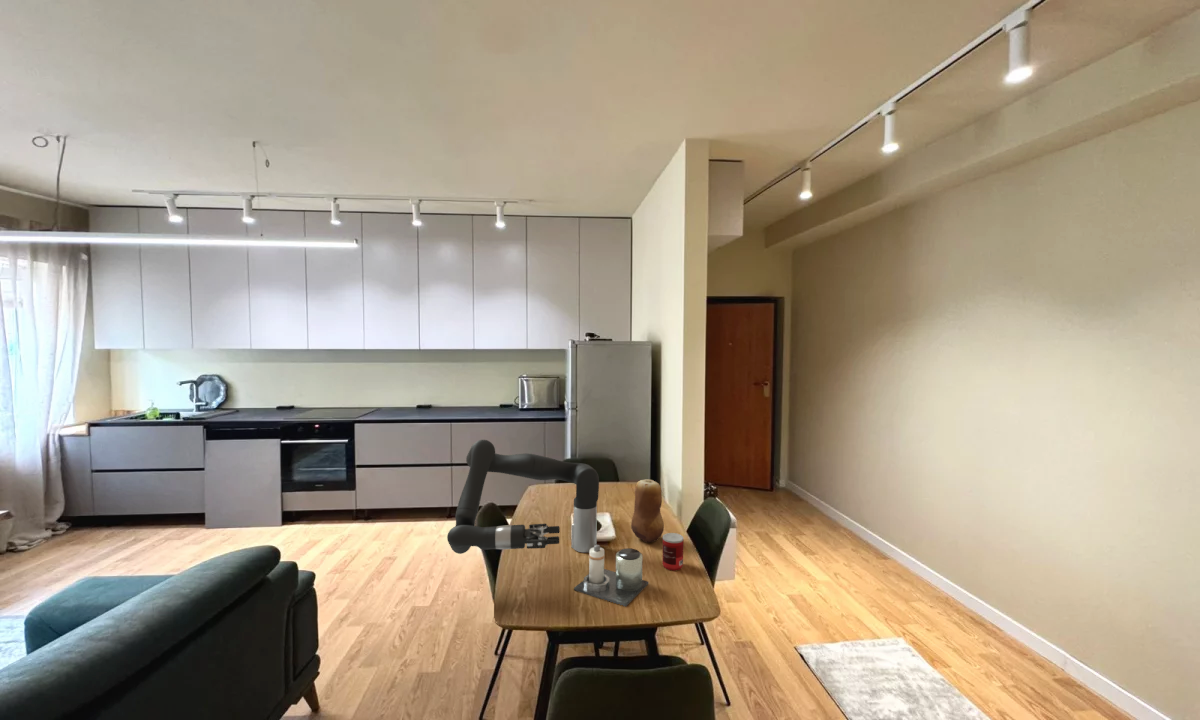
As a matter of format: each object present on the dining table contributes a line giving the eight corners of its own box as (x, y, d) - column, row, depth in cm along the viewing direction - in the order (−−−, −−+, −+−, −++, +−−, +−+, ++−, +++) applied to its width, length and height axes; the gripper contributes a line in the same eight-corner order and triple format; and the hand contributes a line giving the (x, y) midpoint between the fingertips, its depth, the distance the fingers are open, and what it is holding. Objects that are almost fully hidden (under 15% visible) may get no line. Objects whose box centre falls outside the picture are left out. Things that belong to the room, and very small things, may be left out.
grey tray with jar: (574, 590, 164) (574, 556, 164) (599, 569, 179) (600, 538, 178) (625, 606, 154) (626, 570, 154) (648, 583, 169) (648, 550, 168)
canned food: (680, 561, 186) (681, 532, 186) (685, 571, 178) (685, 541, 178) (660, 561, 186) (661, 532, 186) (664, 571, 178) (664, 541, 178)
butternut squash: (668, 538, 207) (669, 479, 206) (655, 549, 196) (656, 488, 195) (639, 531, 214) (639, 474, 213) (624, 542, 203) (625, 482, 202)
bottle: (585, 586, 165) (586, 546, 165) (593, 579, 170) (594, 541, 169) (598, 590, 163) (599, 550, 162) (606, 583, 167) (607, 545, 166)
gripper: (507, 534, 156) (559, 532, 157) (512, 517, 170) (559, 515, 171) (508, 557, 156) (559, 555, 158) (512, 539, 171) (559, 536, 172)
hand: (559, 534), depth 164 cm, fingers open, 8 cm apart
